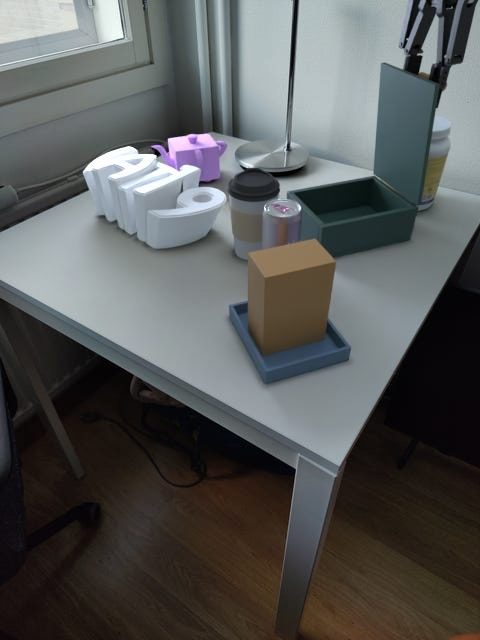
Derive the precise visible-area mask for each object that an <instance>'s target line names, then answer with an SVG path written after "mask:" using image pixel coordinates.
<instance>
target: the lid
mask: <svg viewBox="0 0 480 640" xmlns="http://www.w3.org/2000/svg"><path fill="white" fill-rule="evenodd" d="M429 75H430V73H426V72H424V71H419V74H418V75H415V74H413V73H410V72H408V71H405V70H403V68H400V67H398V66H395V65H393V64H390V63H388V62H381V63H380V72H379V87H378V98H377V99H378V101H377V113H376V114H377V115H376V129H375V141H374V143H375V144H374V156H373V157H374V158H373V170H372V171H373V173H372V174H373V176H376V177H377V178H378V179H380V180H382V181H384V182H385V183H387V184H388V185H389V186H391V187H392V188H393V189H395V190H396V191H398V192H399V193H400V194H402V195H403V196H405V197H406V198H407V199H409V200H410V201H411V202H413V203H414V204H416V205H417V206H419V205H421V203H422V196H423V190H424V183H425V177H426V170H427V164H428V157H429V151H430V144H431V138H432V131H433V125H434V118H435V115H436V111H437V108H436V105H437V99H438V92H439V86H440V84H438V83H436V82H433V81H430V80H428V79H429ZM447 87H448V82H447V81H446V86H445V88H444V89H443V90H442V93H443V92H444V91H446V89H447Z"/></svg>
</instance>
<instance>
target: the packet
mask: <svg viewBox="0 0 480 640" xmlns="http://www.w3.org/2000/svg"><path fill="white" fill-rule="evenodd" d="M335 259H336V258H335V257H332V256H331V255H330V254H329V253H328V252H327V251H326V250H325V249H324V248H323V246H322V245H321V244H320V243H319V242H318V241H317V240H316V239H311V240H306V241H302V242H301V241H300V242H297V243H292V244H288V245H283V246H278V247H273V248H269V249H264V250H259V251H255V252H250V253H248V260H247V301H248V331H249V333H250V335H251V337H252V338H253V340H254V342H255V344H256V346H257V347H258V349H259V351H260V353H261V355H262V356H266V355H270V354H273V353H277V352H280V351H284V350H288V349H291V348H295V347H299V346H302V345H306V344H310V343H313V342H317V341H320V340H324V339H325V333H326V326H327V319H328V318H329V313H330V306H331V298H332V292H333V288H334V287H333V285H334V279H335V273H336V267H337V260H335Z"/></svg>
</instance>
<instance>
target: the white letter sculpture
mask: <svg viewBox="0 0 480 640" xmlns="http://www.w3.org/2000/svg"><path fill="white" fill-rule="evenodd" d="M82 174H83V176H84V179H85V182H86V184H87V185H86V186H87V188H88V191H89V193H90V196H91V198H92V201H93V203H94V206H95V209H96V212H97V215H98V216H105V219H106V221H108V222H112V223H113V222H114V221H117V225H118V228H120V229H121V230H124V232H126V233H127V234H129V235H134V234H137V235H136V237H137V239H138V240H139V241H141V242H143V243H146V245H148V246H149V247H150V248H153V249H155V250H159V249H161V250H162V249H169V248H170V249H171V248H176V247H180V246H185V245H188V244H191V243H194V242H197V241H199V240H201V239H203V238H204V237H206V236H207V235H208V234H209V232H210V231H211V229H212V227H213V225H214V223H215V221H216V219H217V218H218V216H219V214H220V212H221V210H222V208H224V205H225V204H226V201H227V195H226V194H225V193H224V192H223V191H222V190H220V189H218V188H215V187H209V186H199V185H200V184H199V183H200V181H199V179H200V174H201V170H200V169H199V168H197V167H194V166H190V165H184V166H181V168H180V172H179V171H177V170H175V169H174V168H172V167H170V166H167V165H166V163H162V162H160V161H157V155H155V154H151V153H141V154H139V151H138V149H136V148H134V147H132V146H125V147H121V148H118V149H115V150H111V151H109V152H106V153H105V154H102V155H101V156H99V157H96V159H93V161H92V162H90V163H89V164H88V165H87V166H86V167H85V168H84V170H83V171H82Z"/></svg>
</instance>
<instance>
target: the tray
mask: <svg viewBox="0 0 480 640" xmlns="http://www.w3.org/2000/svg"><path fill="white" fill-rule="evenodd" d="M228 310H229V311H228V314H229V315H228V316H229V319H230V321H231V322H232V324H233V326H234V328H235V330H236V332H237V334H238V336H239V338H240V339H241V341H242V343H243V345H244V347H245V349H246V351H247V352H248V355H249V356H250V358H251V360H252V362H253V364H254V366H255V367H256V370H257V372H258V374H259V375H260V377H261V379H262V381H263V382H264V385H267V384H271V383H274V382H277V381H281V380H284V379H289V378H291V377H294V376H297V375H302V374H304V373H308V372H311V371H316V370H319V369H322V368H325V367H329V366H332V365H335V364H336V365H337V364H339V363H342V362H346V361H349V360H350V356H351V350H352V347H351V345H350V344H349V343H348V341H347V340H346V339H345V338H344V336H343V335H342V333H341V332H340V331H339V330H338V329H337V327H336V326H335V325H334V323H333V322H332V321H331V319H330V318H329V317H328V319H327V326H326V333H325V339H324V340H320V341H317V342H313V343H310V344H306V345H302V346H299V347H295V348H291V349H288V350H284V351H280V352H277V353H273V354H270V355H266V356H262V355H261V353H260V351H259V349H258V347H257V346H256V344H255V342H254V340H253V338H252V337H251V335H250V333H249V331H248V300H243V301H240V302H236V303H233V304H228Z"/></svg>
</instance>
